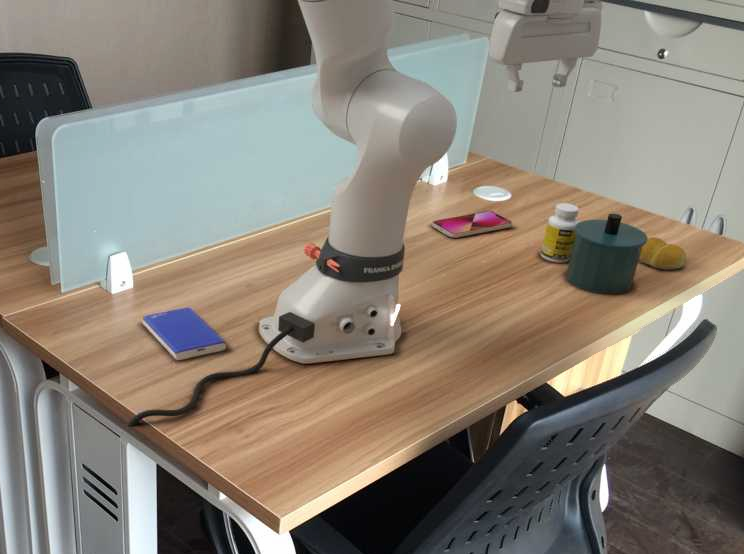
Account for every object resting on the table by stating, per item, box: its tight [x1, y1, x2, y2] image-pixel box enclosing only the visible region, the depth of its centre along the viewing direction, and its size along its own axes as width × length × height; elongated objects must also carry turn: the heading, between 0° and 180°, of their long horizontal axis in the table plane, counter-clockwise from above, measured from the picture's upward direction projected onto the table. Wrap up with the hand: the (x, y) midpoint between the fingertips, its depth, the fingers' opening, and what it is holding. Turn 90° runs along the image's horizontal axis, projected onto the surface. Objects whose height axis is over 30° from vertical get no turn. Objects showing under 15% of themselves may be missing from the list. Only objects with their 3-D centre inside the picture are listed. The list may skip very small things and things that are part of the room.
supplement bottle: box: [540, 202, 580, 264], centre depth 173 cm, size 5×5×10 cm
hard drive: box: [142, 307, 227, 361], centre depth 144 cm, size 2×8×12 cm
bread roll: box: [638, 236, 687, 271], centre depth 175 cm, size 8×9×4 cm
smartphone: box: [431, 210, 513, 238], centre depth 187 cm, size 7×1×15 cm
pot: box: [565, 235, 643, 295], centre depth 165 cm, size 11×11×8 cm
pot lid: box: [574, 213, 648, 249], centre depth 162 cm, size 12×12×4 cm
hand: (536, 88), depth 154 cm, fingers open, 8 cm apart
